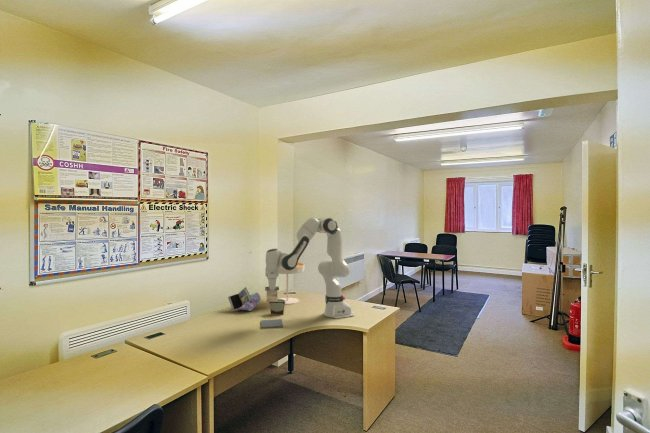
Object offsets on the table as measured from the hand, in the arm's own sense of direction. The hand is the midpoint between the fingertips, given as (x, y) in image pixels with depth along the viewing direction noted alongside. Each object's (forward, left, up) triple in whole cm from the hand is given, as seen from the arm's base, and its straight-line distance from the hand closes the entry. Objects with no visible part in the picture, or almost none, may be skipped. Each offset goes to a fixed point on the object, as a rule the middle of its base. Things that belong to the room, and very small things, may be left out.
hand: (271, 293), depth 222 cm
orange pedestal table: (-14, -56, -21) cm, 61 cm away
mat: (0, 0, -21) cm, 21 cm away
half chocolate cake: (-5, -24, -21) cm, 32 cm away
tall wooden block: (0, 0, -5) cm, 5 cm away
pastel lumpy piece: (+19, -38, -21) cm, 47 cm away
